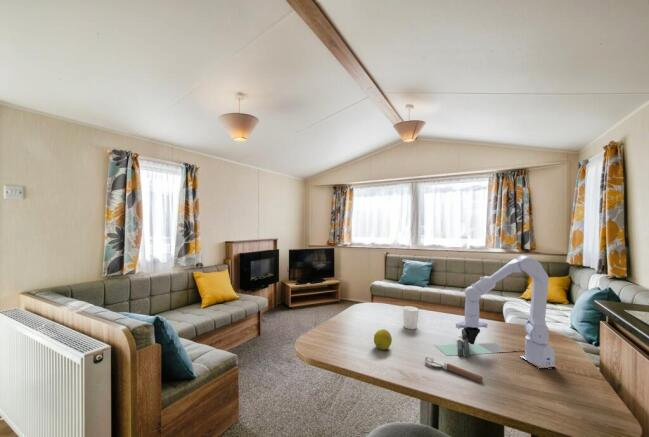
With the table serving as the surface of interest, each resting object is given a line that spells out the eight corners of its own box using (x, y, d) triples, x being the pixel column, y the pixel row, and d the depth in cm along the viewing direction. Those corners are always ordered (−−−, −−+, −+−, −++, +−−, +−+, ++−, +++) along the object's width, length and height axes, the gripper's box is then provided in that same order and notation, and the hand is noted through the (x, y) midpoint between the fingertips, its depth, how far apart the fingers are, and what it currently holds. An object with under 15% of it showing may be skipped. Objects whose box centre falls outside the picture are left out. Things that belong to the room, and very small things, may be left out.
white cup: (416, 324, 151) (416, 306, 151) (419, 330, 143) (420, 311, 143) (401, 323, 152) (402, 305, 152) (404, 329, 144) (404, 310, 144)
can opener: (456, 338, 134) (456, 325, 134) (468, 340, 131) (468, 327, 131) (456, 355, 116) (457, 341, 117) (470, 358, 114) (470, 343, 114)
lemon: (386, 355, 115) (386, 336, 116) (369, 349, 120) (370, 331, 120) (395, 346, 124) (396, 328, 124) (379, 341, 129) (380, 324, 129)
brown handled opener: (484, 381, 100) (484, 373, 100) (480, 388, 95) (481, 380, 95) (428, 359, 113) (428, 352, 113) (422, 365, 109) (423, 357, 109)
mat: (525, 351, 122) (525, 351, 122) (446, 355, 117) (446, 355, 117) (509, 342, 131) (509, 342, 131) (434, 345, 125) (434, 345, 125)
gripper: (479, 310, 128) (479, 338, 128) (451, 310, 126) (451, 340, 126) (491, 315, 121) (490, 345, 121) (461, 316, 119) (461, 347, 119)
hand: (471, 343), depth 123 cm, fingers closed
